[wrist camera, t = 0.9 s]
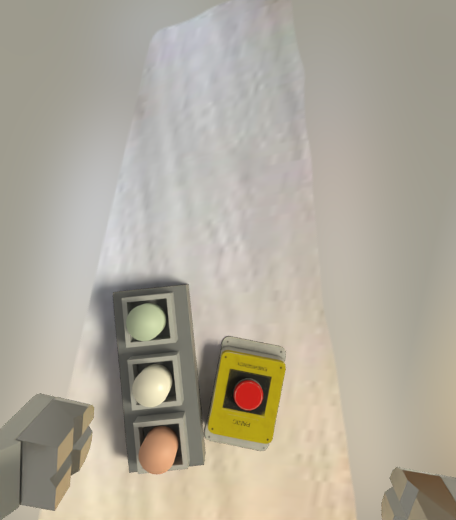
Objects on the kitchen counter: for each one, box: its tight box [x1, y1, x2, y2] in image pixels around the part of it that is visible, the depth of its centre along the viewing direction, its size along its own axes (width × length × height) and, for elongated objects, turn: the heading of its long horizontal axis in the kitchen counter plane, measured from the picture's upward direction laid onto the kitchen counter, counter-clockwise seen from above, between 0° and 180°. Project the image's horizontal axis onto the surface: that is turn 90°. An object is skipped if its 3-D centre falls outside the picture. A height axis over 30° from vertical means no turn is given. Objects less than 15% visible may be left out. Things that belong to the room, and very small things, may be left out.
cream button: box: [132, 364, 173, 407], centre depth 43 cm, size 4×4×3 cm
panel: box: [113, 284, 206, 474], centre depth 46 cm, size 24×10×5 cm, turn 6°
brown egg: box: [138, 426, 179, 474], centre depth 42 cm, size 4×4×3 cm
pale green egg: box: [126, 303, 166, 341], centre depth 43 cm, size 4×4×3 cm
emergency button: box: [205, 336, 286, 451], centre depth 47 cm, size 9×4×15 cm
